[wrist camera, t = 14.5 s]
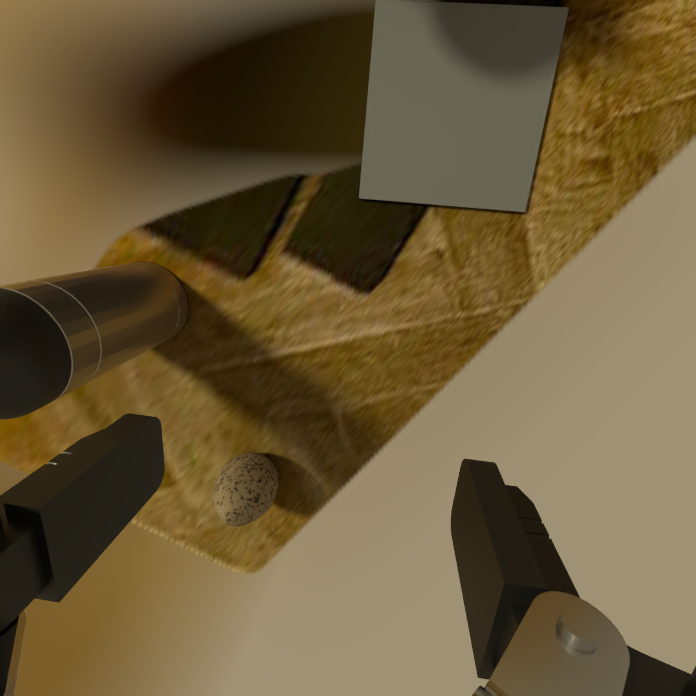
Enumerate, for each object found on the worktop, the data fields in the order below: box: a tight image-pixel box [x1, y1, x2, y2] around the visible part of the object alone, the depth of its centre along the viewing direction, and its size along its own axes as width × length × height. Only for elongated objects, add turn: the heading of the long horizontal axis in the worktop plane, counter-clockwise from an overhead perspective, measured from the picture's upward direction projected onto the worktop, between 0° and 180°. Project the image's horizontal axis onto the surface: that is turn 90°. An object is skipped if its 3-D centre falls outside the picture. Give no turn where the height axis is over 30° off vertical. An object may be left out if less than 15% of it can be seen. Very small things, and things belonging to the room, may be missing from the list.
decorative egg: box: [214, 453, 279, 526], centre depth 46 cm, size 7×7×10 cm
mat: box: [359, 0, 569, 212], centre depth 36 cm, size 16×16×1 cm
